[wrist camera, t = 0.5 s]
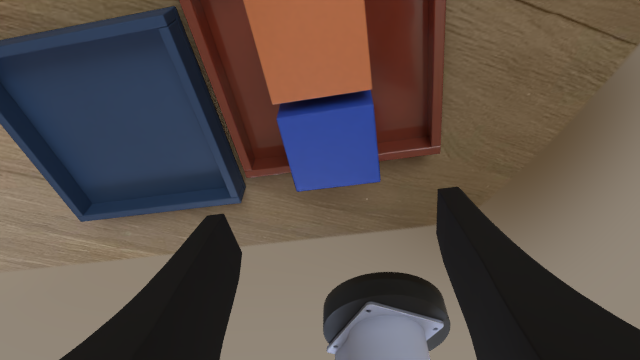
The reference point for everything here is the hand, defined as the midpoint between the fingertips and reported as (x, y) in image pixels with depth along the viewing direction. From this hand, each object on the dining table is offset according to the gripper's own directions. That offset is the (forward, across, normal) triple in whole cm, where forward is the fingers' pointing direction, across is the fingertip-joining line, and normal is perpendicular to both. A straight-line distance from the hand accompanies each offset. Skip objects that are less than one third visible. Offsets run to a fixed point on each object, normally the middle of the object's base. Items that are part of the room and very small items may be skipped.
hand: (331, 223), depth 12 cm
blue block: (+9, 0, 0) cm, 9 cm away
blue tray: (+9, +12, 0) cm, 15 cm away
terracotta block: (+9, 0, -5) cm, 10 cm away
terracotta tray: (+9, 0, -2) cm, 9 cm away
